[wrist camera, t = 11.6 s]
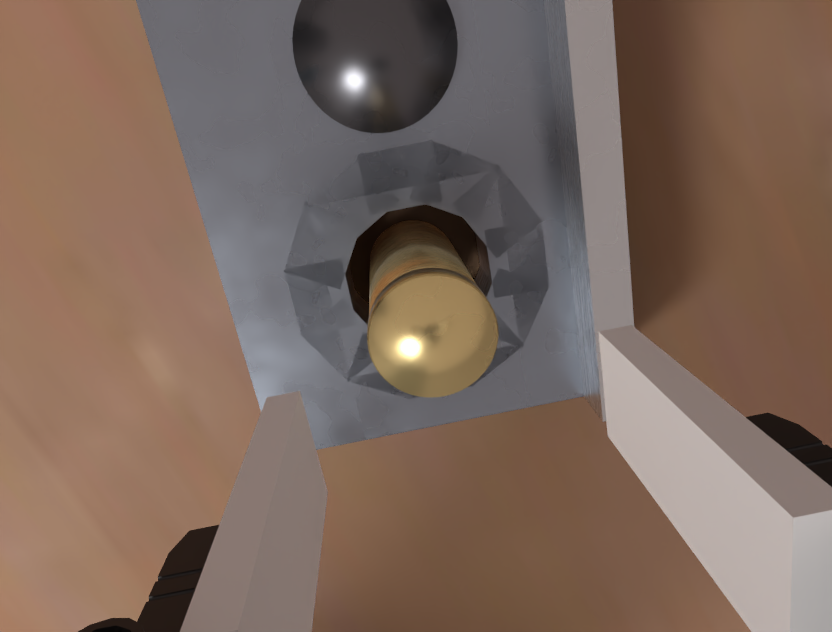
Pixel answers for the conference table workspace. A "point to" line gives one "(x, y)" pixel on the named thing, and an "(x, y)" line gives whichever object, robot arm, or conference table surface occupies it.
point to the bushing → (426, 313)
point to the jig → (404, 184)
